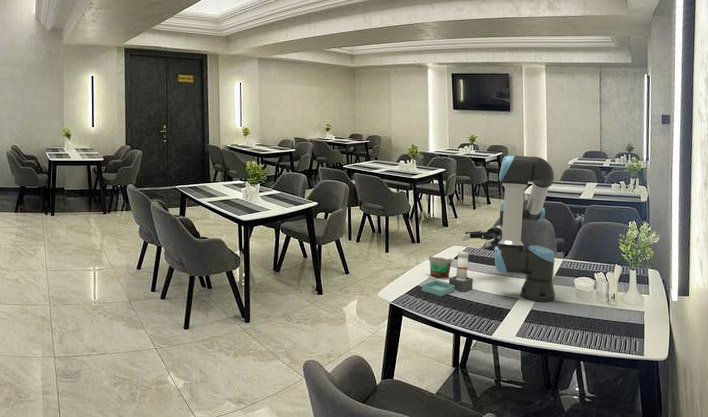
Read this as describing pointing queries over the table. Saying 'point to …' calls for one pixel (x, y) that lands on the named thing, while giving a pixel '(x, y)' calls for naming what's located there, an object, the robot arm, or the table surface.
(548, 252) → the robot arm
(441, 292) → the parts tray
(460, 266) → the fuse
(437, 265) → the food container
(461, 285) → the socket block
